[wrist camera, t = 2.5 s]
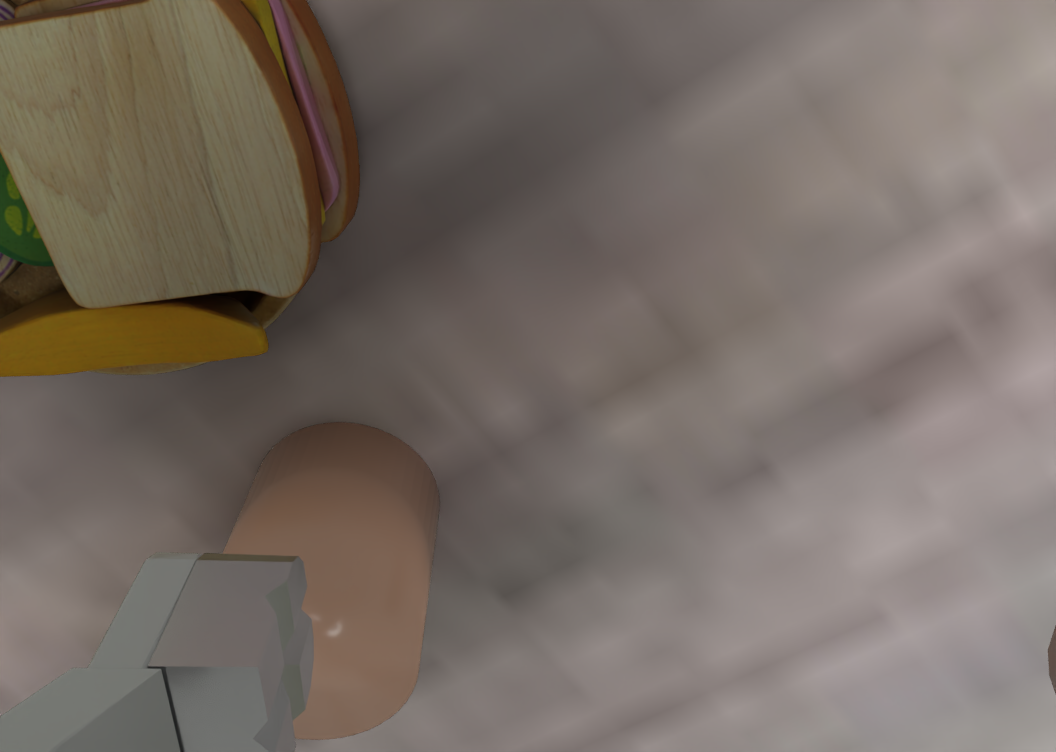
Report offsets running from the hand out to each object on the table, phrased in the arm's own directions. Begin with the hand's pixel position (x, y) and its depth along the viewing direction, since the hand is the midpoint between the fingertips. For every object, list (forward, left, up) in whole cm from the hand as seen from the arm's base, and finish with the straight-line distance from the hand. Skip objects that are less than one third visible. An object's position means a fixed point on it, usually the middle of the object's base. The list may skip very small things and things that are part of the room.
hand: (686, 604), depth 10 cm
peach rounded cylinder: (-12, +7, -18) cm, 22 cm away
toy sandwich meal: (0, +13, -18) cm, 22 cm away
